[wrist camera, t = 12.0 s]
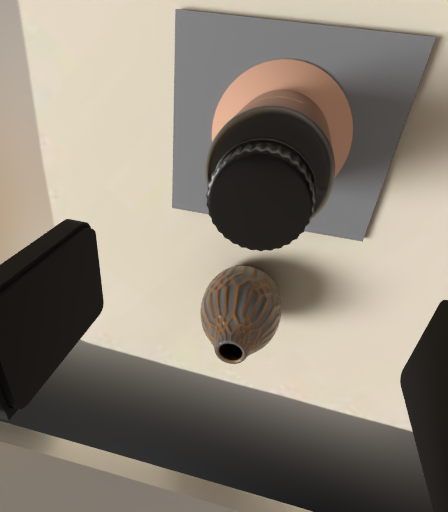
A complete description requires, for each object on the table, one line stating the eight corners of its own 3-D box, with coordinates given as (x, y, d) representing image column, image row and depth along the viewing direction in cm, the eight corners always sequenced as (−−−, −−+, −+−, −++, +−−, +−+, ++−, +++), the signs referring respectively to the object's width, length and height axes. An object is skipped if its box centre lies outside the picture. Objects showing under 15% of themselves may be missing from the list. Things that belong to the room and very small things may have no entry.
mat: (432, 37, 21) (437, 36, 20) (361, 237, 28) (362, 242, 28) (178, 9, 23) (174, 8, 22) (174, 205, 30) (171, 208, 30)
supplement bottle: (296, 64, 22) (288, 81, 12) (346, 153, 25) (374, 229, 15) (213, 127, 25) (154, 182, 15) (264, 201, 28) (241, 291, 18)
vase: (295, 300, 33) (293, 373, 26) (234, 320, 36) (216, 391, 29) (261, 242, 31) (248, 306, 23) (198, 269, 33) (168, 333, 26)
